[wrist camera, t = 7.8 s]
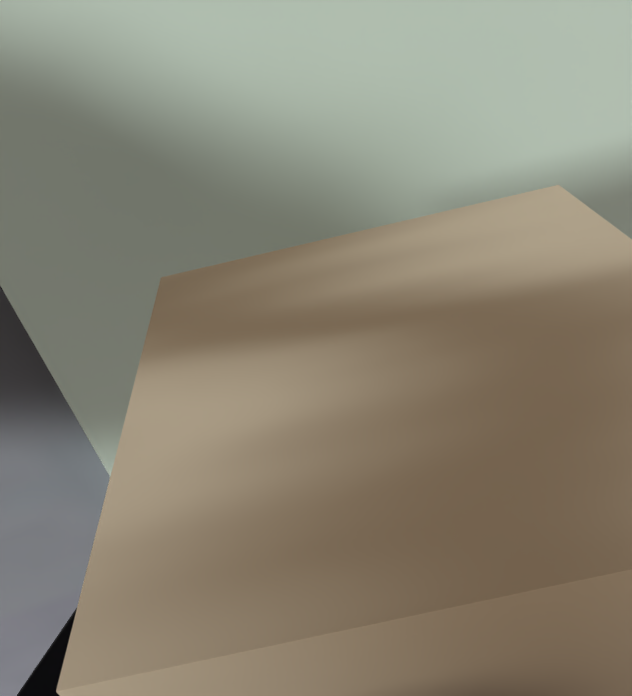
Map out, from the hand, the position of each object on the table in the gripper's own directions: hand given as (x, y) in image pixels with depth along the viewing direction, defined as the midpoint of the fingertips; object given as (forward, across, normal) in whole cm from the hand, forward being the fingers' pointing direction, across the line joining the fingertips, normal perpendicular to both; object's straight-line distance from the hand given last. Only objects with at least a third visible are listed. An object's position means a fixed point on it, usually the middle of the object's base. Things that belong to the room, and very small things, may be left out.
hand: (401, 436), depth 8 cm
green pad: (+7, 0, 0) cm, 7 cm away
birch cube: (+1, 0, 0) cm, 1 cm away
